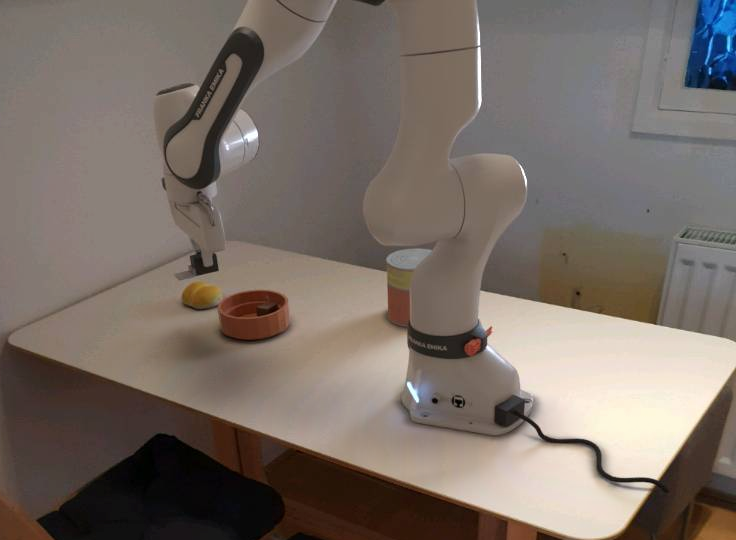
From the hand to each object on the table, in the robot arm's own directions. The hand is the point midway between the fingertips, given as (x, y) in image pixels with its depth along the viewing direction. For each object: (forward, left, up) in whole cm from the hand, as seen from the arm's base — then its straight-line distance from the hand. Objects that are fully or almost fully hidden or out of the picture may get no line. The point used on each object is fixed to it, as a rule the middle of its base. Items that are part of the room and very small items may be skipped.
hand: (204, 262), depth 153 cm
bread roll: (+16, -14, -17) cm, 27 cm away
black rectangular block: (+1, +2, -2) cm, 3 cm away
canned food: (-29, -29, -17) cm, 44 cm away
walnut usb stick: (-5, -9, -15) cm, 18 cm away
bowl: (-3, -9, -16) cm, 19 cm away
